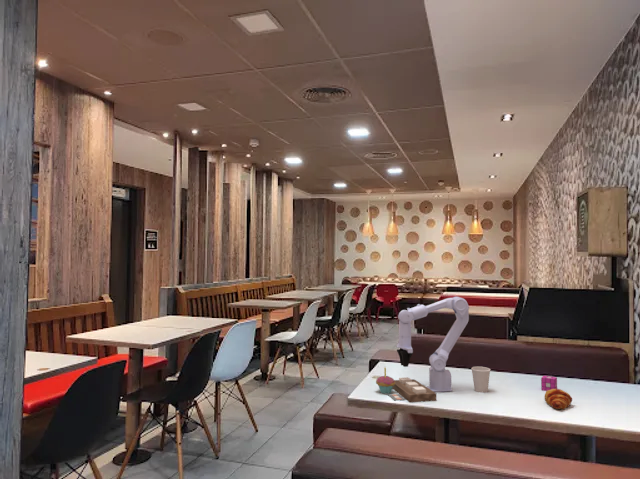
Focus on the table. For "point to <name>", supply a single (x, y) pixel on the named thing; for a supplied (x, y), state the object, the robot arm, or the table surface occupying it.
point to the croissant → (558, 398)
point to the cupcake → (385, 383)
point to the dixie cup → (481, 378)
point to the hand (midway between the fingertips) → (404, 365)
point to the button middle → (411, 384)
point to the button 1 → (404, 380)
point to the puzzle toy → (548, 383)
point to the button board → (411, 395)
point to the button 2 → (418, 390)
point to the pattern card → (396, 397)
